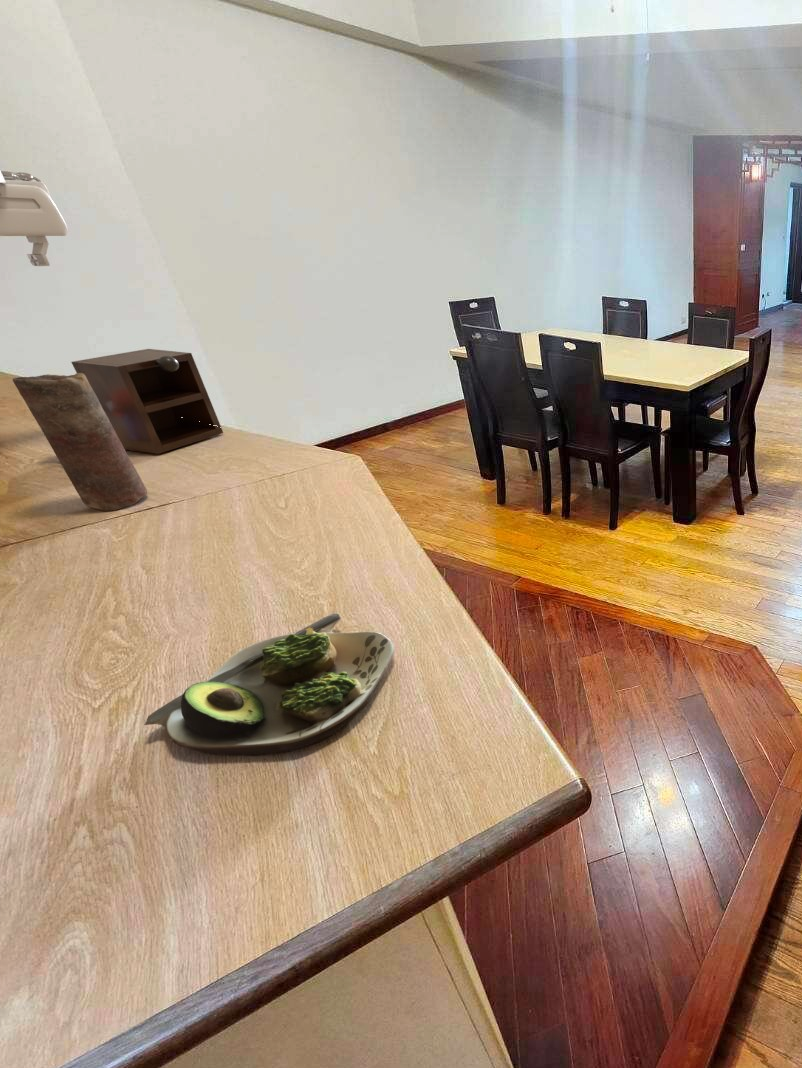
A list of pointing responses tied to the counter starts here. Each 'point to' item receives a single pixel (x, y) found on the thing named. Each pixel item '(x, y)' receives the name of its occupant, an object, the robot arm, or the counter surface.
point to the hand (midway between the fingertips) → (6, 267)
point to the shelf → (152, 398)
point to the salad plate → (279, 693)
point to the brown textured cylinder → (82, 439)
